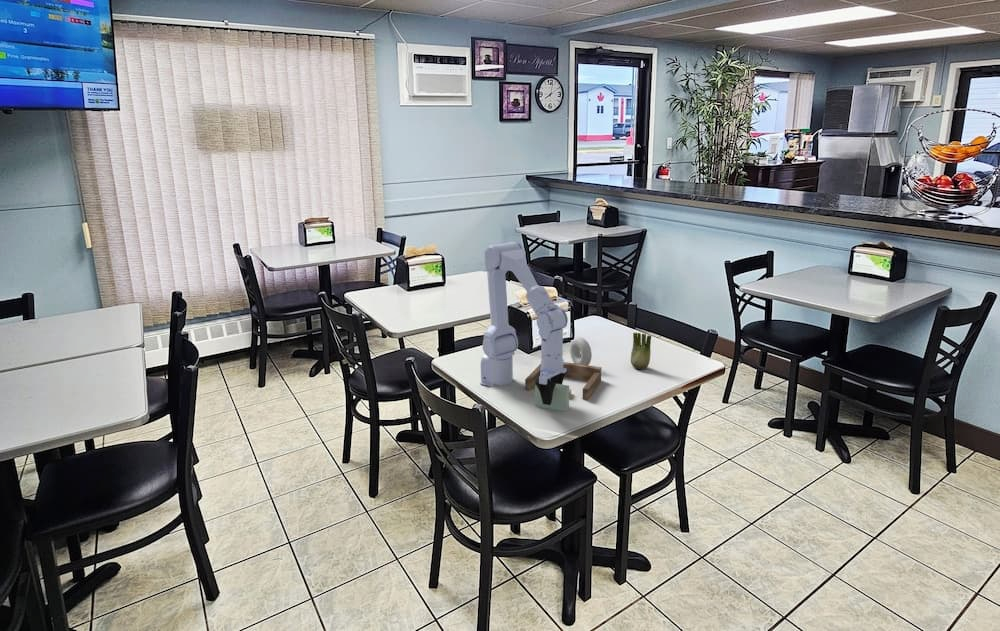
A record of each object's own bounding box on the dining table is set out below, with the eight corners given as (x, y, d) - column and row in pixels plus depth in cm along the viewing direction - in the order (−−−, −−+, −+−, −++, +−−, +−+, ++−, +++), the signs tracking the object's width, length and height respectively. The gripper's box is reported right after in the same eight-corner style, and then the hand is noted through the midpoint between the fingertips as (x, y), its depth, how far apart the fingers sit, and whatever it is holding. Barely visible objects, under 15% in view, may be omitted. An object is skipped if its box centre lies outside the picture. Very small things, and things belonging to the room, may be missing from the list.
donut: (593, 371, 189) (594, 341, 186) (584, 373, 188) (585, 343, 185) (576, 360, 198) (577, 332, 195) (567, 362, 197) (568, 334, 194)
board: (535, 407, 165) (535, 384, 163) (538, 403, 167) (538, 380, 165) (566, 412, 161) (566, 389, 159) (568, 408, 163) (569, 385, 161)
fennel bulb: (651, 369, 190) (653, 334, 186) (639, 372, 188) (641, 337, 184) (638, 363, 195) (640, 329, 191) (627, 366, 192) (629, 332, 189)
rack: (525, 391, 176) (525, 376, 174) (542, 373, 188) (542, 358, 187) (587, 402, 168) (588, 386, 167) (601, 382, 181) (601, 367, 179)
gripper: (557, 364, 151) (556, 411, 155) (574, 345, 164) (573, 390, 168) (531, 360, 154) (531, 407, 158) (550, 342, 167) (550, 386, 171)
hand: (551, 398), depth 163 cm, fingers open, 7 cm apart
